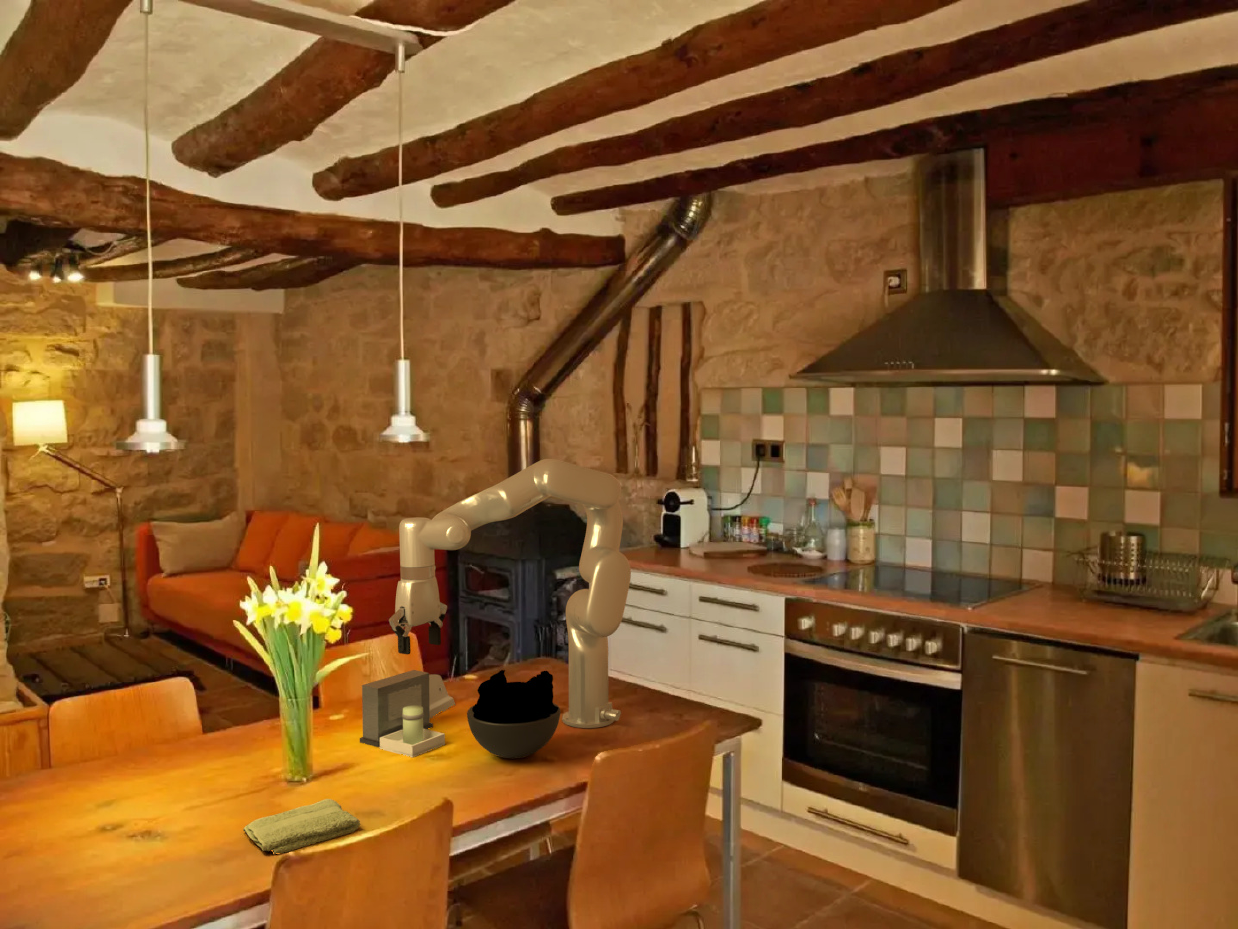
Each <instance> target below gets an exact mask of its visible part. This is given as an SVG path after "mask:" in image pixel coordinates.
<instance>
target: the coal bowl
mask: <svg viewBox="0 0 1238 929" xmlns="http://www.w3.org/2000/svg"><path fill="white" fill-rule="evenodd" d="M505 672H506V669H501V670H499V671H498V672H497V673H495V674H493V675H491V676H490V677H489V679H487V680H483V682H481V683H480V685H479V686H478V688H477V690H476V691H477V693H478V695H479V696H478V698H477V701H476V703H475V704H474V705H472V706H470V707H469V708H468V710H467V712H466V718H467V722H468V726H469V730H470V731H471V733H472V735H473V737H474V739H475V741H476V742H477V743H478V744H479V745H480V746H481V747H482V748H483V749H484V750H486V751H487V752H489V753H491V754H492V755H495V756H497V757H501V758H503V759H505V758H506V759H520V758H525V757H529V756H531V755H533V754H535V753H537V752H538V751H540V750H541V749H542V748H544V747H545V746H546V745H547V744H548V743H549V741H550V740H551V739H552V738H553V736H554V735H555V732H556V730H557V728H558V725H559V724H560V723H559V722H560V719H561V709H560V708H561V707H560V706H559V705H558V704H556V703H555V702H554V692H553V691H554V685H553V682H554V675H553V674H551V673H550V671H548V670H543V671H541V672H540V674H539V673H538V674H536V676H532V677H531V678H530V679H529V680H528V681H508V680H507V677H506V675H505Z"/></svg>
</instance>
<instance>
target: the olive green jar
mask: <svg viewBox="0 0 1238 929" xmlns="http://www.w3.org/2000/svg"><path fill="white" fill-rule="evenodd" d="M423 717H424V712H423V707H422V706H417V705H412V706H406V707H404V708H403V713H402V718H403V743H406V744H410V745H414V744H416V743H419V742H422V741H423Z"/></svg>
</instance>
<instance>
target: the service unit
mask: <svg viewBox="0 0 1238 929" xmlns="http://www.w3.org/2000/svg"><path fill="white" fill-rule="evenodd" d="M429 675H430V673H429V672H427V671H421V670H417V669H416V670H415V669H412V670H409V671H405V672H403V673H399V674H395V675H392V676H388V677H385V678H382V679H378V680H375V681H371V682H367V683H365V684H362V685H361V698H362V704H361V705H362V706H361V707H362V708H361V710H362V736H361V737H359V743H360V744H364V743H365V745H368V746H372V747H376V748H380V737H383V736H386V735H389V734H391V733H394V732H397V731H400V730H403V718H402V713H403V708H404V707H406V706H412V705H417V706H422V707H423V712H424V717H423V729H427V730H429V729H428V728H430V729H432V728H434V726H433V725H434V723H433V722H430V720H431V719H430V709H429ZM431 727H432V728H431Z"/></svg>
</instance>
